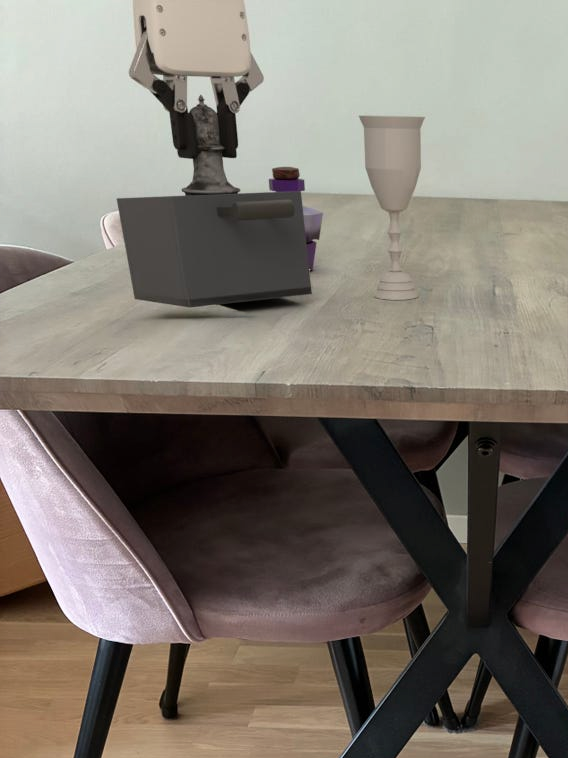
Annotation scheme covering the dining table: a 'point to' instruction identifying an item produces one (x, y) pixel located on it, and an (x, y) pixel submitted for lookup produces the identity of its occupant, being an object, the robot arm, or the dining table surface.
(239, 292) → the dark grey rectangular box
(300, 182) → the potion bottle
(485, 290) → the dining table surface
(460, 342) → the dining table surface
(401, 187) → the chalice
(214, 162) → the salt shaker
